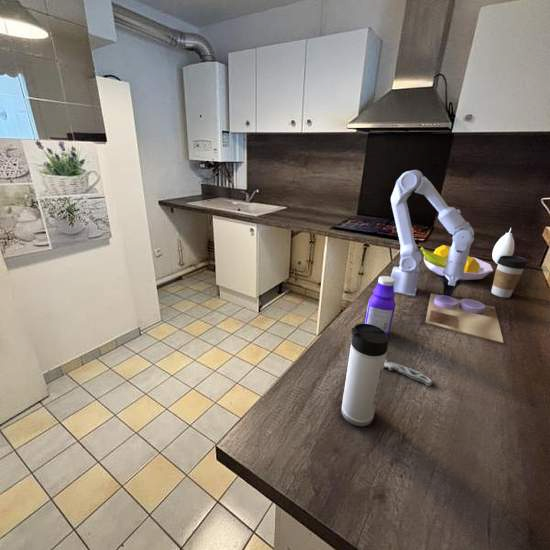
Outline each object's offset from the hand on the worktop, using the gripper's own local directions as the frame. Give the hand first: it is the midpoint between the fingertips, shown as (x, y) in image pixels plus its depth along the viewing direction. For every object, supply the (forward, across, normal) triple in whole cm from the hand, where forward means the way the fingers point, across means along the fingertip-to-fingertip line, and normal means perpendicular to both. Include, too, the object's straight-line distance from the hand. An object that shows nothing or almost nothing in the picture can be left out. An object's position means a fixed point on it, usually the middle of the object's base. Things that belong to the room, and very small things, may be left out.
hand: (446, 296), depth 105 cm
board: (+2, -9, -5) cm, 11 cm away
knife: (+2, -49, +10) cm, 50 cm away
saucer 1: (+1, -4, 0) cm, 5 cm away
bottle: (+2, -34, +17) cm, 38 cm away
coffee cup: (+2, +17, -18) cm, 25 cm away
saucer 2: (+1, -3, -8) cm, 8 cm away
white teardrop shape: (-7, +58, -22) cm, 62 cm away
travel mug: (+2, -66, +14) cm, 68 cm away
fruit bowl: (+2, +31, -1) cm, 31 cm away
